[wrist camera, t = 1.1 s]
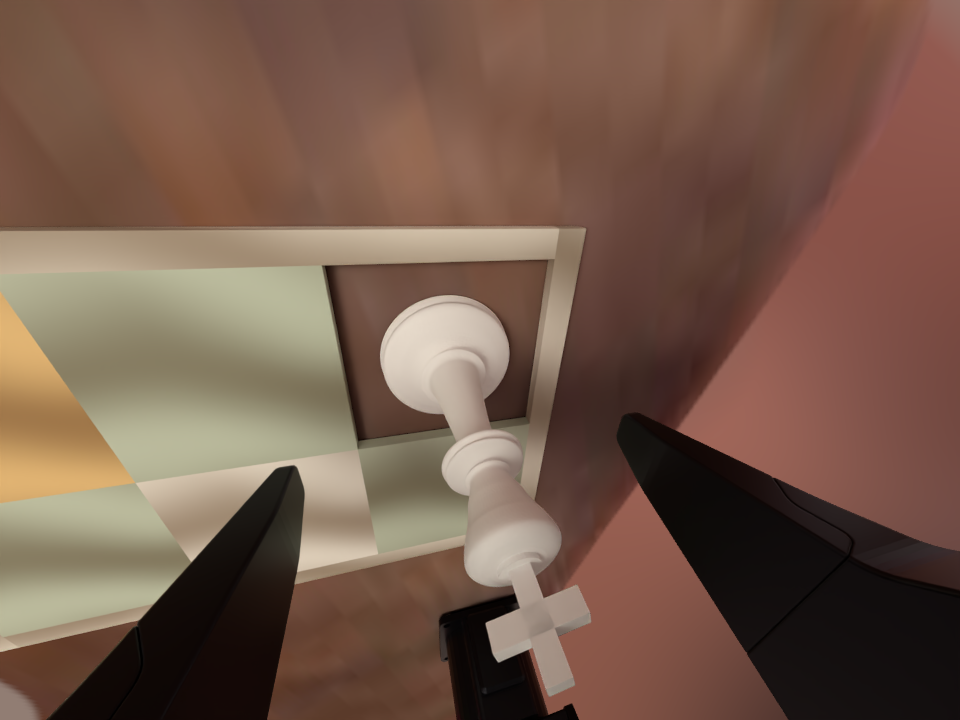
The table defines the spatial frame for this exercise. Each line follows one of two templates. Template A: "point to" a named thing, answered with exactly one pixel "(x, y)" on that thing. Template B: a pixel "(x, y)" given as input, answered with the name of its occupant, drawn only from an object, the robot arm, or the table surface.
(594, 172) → the table surface
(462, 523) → the game board
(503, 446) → the chess piece
